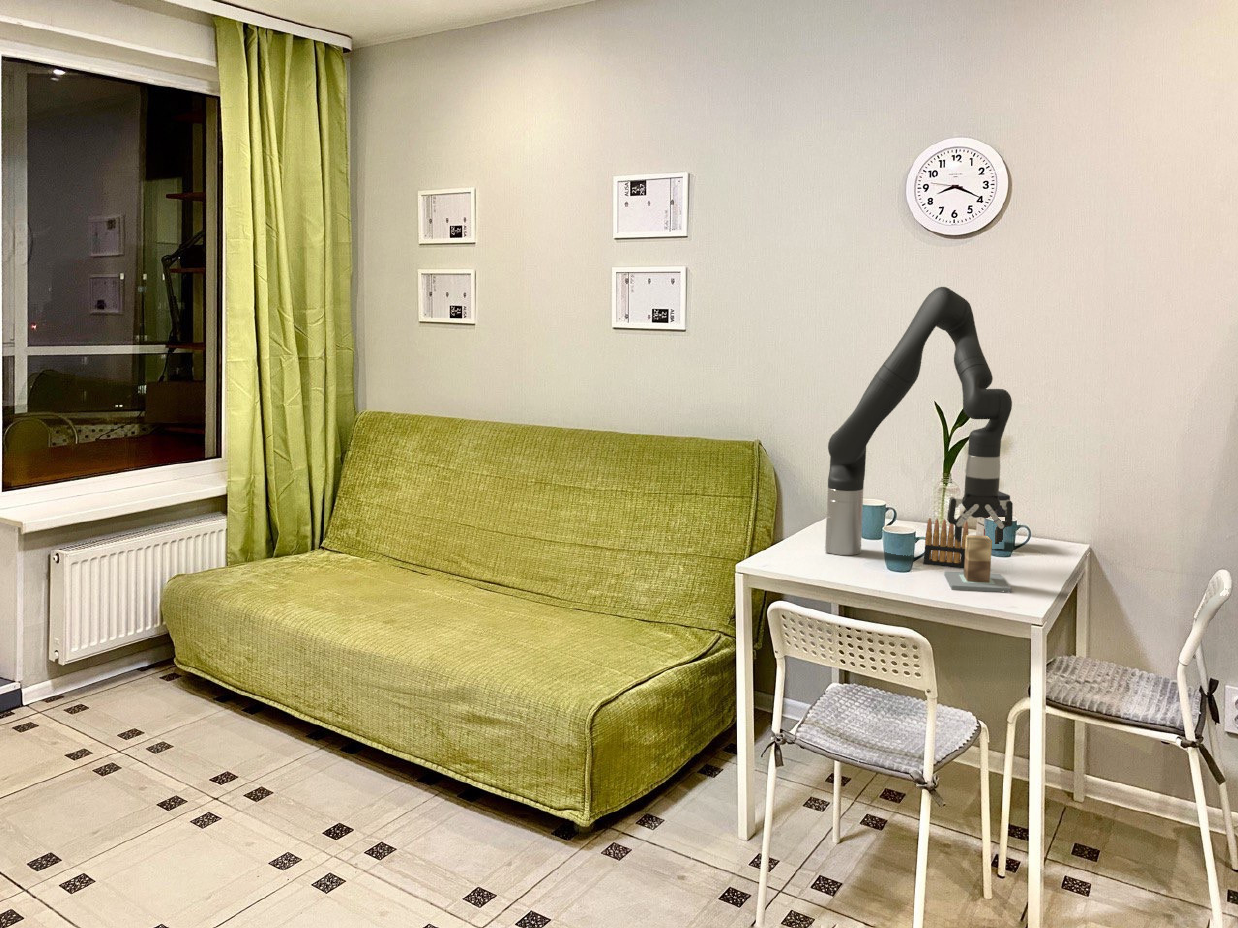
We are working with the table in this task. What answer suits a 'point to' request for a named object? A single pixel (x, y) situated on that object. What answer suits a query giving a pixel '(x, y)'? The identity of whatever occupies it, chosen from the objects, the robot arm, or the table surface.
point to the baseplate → (976, 583)
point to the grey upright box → (999, 512)
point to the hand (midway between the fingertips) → (978, 542)
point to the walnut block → (977, 571)
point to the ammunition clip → (944, 546)
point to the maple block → (978, 548)
